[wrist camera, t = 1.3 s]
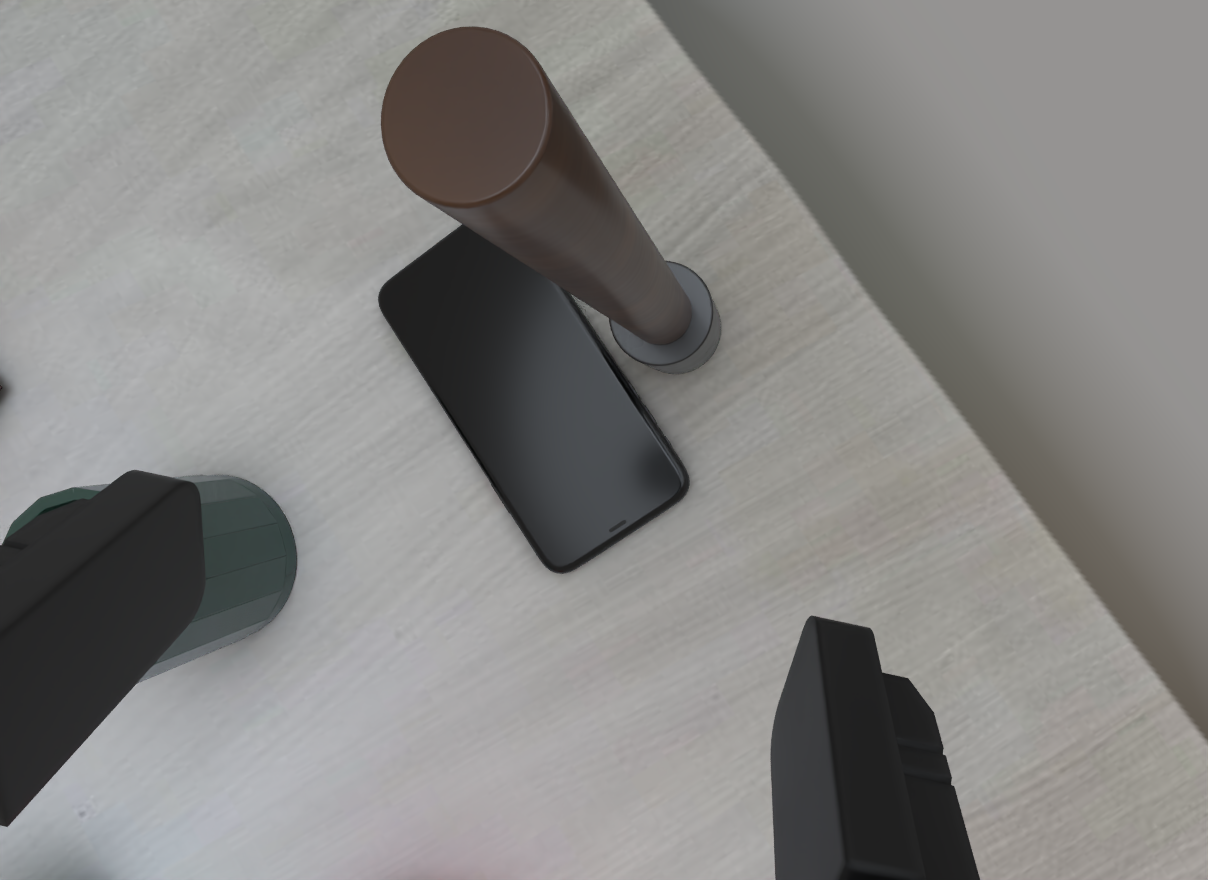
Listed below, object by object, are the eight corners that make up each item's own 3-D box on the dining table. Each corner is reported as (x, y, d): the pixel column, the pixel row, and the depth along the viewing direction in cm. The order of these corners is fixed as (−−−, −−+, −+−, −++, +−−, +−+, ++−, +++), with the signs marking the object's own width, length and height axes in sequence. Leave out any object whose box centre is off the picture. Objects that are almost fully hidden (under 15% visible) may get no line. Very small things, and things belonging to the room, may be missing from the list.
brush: (658, 268, 39) (407, -87, 12) (737, 310, 39) (669, 39, 11) (616, 347, 40) (275, 185, 12) (693, 390, 39) (520, 321, 11)
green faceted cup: (191, 444, 44) (44, 451, 35) (324, 527, 42) (208, 556, 34) (122, 584, 44) (-37, 626, 36) (251, 670, 43) (119, 734, 34)
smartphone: (374, 296, 42) (557, 581, 40) (366, 293, 41) (552, 584, 39) (507, 196, 40) (700, 487, 39) (501, 191, 39) (699, 489, 38)
